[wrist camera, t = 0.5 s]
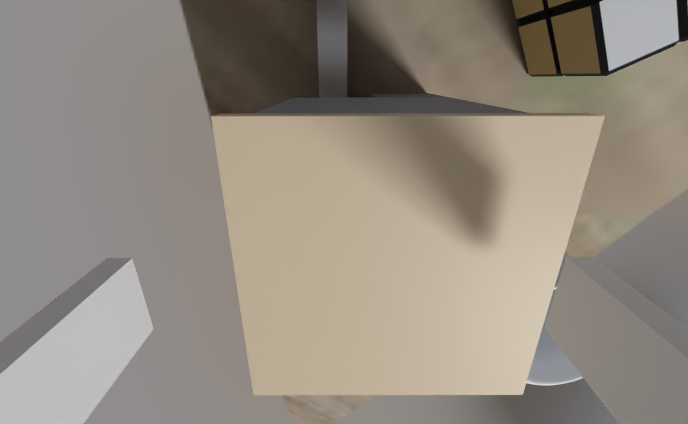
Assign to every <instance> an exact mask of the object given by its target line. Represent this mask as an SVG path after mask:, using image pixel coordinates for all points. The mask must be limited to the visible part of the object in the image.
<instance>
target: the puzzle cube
mask: <svg viewBox="0 0 688 424" xmlns="http://www.w3.org/2000/svg"><path fill="white" fill-rule="evenodd" d="M512 3H513V7H514V12H515V16H516V20H519V21H521V22H520V24H519V26H518V29H519V34H520V38H521V42H522V47H523V51H524V55H525V59H526V64H527V68H528V72H529V75H531V76H563V75H565V76H607V75H609V74H612V73H614V72H616V71H618V70H621V69H623V68H625V67H628V66H630V65H632V64H634V63H637V62H639V61H641V60H643V59H646V58H648V57H650V56H653V55H655V54H657V53H659V52H662V51H664V50H666V49H668V48H671V47H673V46H675V45H676V44H677V42H682V41H686V40H688V0H512Z"/></svg>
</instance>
